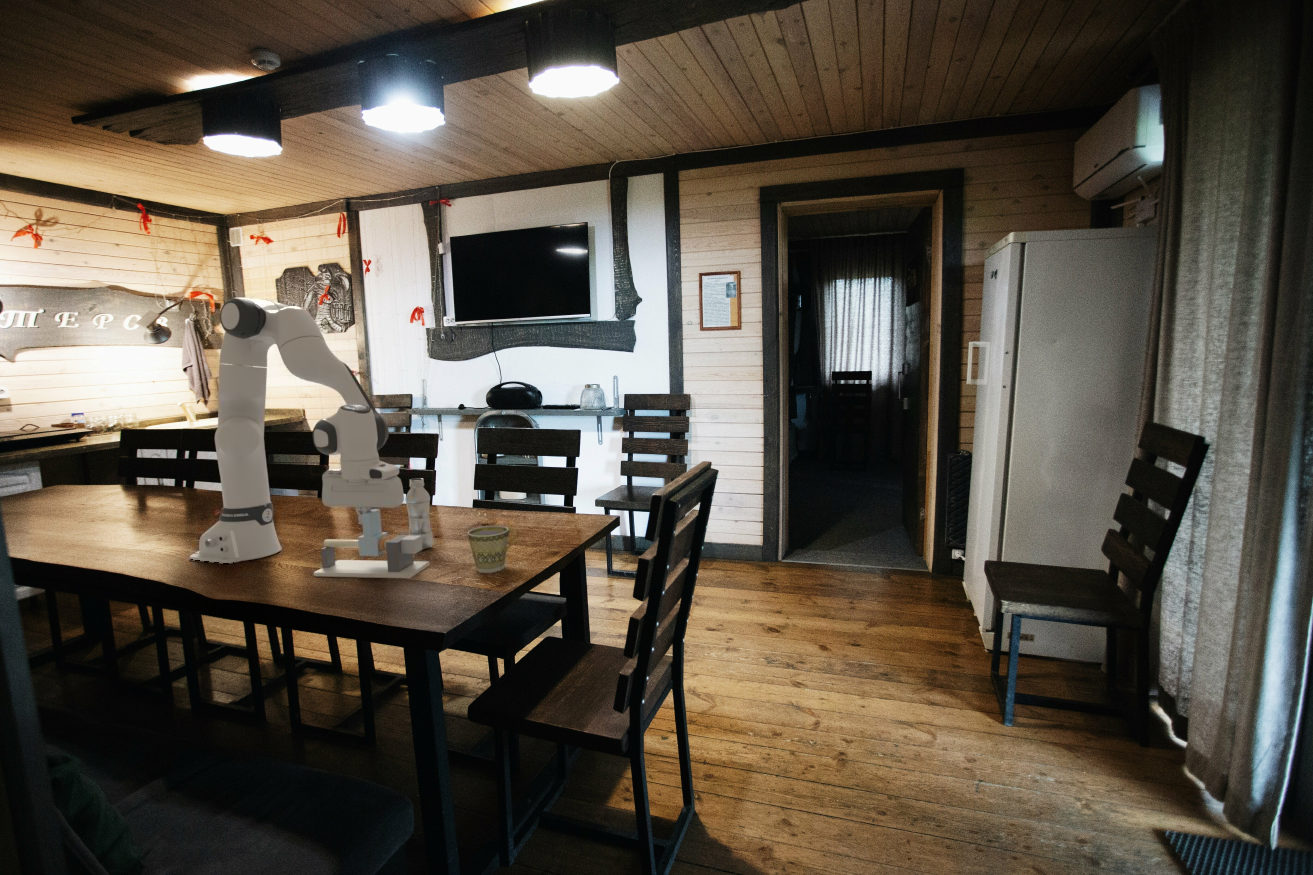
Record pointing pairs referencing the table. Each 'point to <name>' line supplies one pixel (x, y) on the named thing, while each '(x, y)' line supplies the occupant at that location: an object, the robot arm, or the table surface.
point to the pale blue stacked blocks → (371, 534)
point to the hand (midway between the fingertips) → (364, 523)
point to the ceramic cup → (490, 547)
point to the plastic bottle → (419, 512)
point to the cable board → (394, 567)
